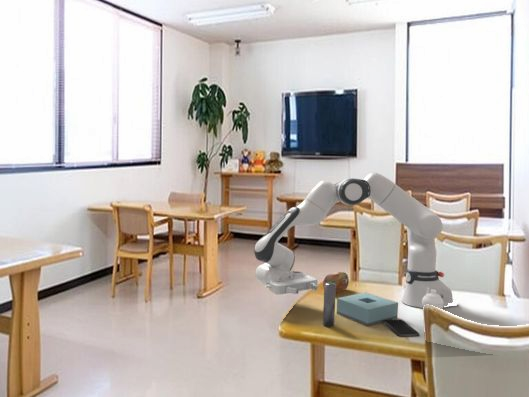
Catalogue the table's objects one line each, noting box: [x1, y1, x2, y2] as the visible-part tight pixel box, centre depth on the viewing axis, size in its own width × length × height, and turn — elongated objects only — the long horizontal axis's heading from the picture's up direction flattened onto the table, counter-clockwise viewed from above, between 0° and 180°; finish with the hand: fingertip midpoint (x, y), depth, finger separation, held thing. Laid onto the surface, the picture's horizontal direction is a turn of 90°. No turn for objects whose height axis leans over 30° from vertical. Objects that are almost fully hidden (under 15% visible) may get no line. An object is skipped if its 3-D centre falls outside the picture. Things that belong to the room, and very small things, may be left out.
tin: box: [322, 271, 350, 294], centre depth 222 cm, size 15×3×8 cm, turn 132°
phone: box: [382, 319, 420, 338], centre depth 176 cm, size 8×1×15 cm
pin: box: [322, 282, 336, 328], centre depth 177 cm, size 4×4×15 cm
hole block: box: [336, 291, 399, 327], centre depth 189 cm, size 16×16×6 cm
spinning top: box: [422, 290, 444, 309], centre depth 184 cm, size 8×8×12 cm
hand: (306, 290), depth 187 cm, fingers open, 8 cm apart
